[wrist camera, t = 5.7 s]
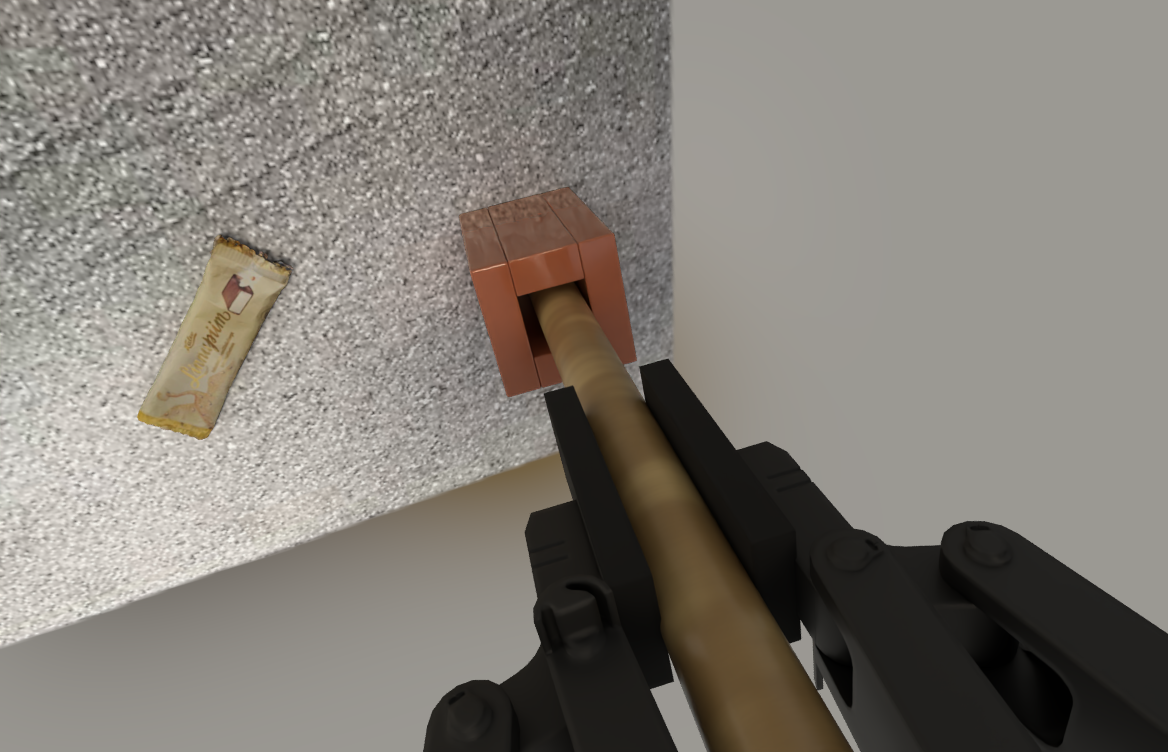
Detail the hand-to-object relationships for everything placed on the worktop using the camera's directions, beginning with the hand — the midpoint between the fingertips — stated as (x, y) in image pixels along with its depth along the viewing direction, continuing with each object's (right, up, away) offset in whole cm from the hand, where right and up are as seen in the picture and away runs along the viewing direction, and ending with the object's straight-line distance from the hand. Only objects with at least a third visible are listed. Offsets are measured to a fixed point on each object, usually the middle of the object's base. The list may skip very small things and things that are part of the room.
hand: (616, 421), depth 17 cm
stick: (-2, +5, +10) cm, 11 cm away
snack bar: (-17, +3, +12) cm, 21 cm away
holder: (-3, +7, +13) cm, 15 cm away
